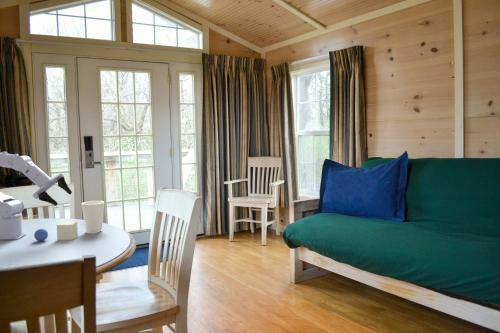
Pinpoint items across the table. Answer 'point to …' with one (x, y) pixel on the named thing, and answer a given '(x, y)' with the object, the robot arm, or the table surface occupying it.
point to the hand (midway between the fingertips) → (64, 198)
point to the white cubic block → (67, 231)
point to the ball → (41, 234)
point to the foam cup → (93, 215)
